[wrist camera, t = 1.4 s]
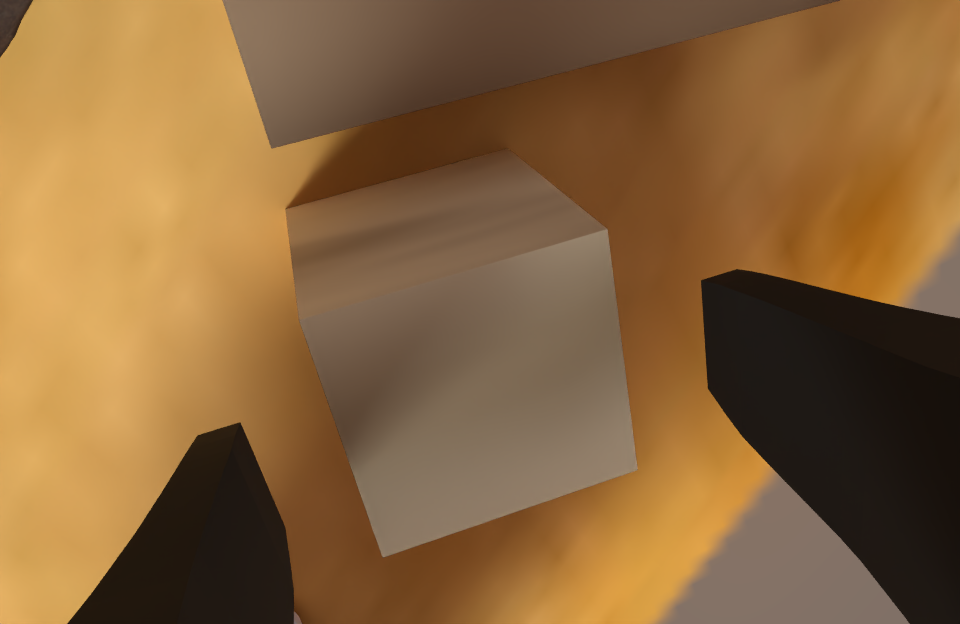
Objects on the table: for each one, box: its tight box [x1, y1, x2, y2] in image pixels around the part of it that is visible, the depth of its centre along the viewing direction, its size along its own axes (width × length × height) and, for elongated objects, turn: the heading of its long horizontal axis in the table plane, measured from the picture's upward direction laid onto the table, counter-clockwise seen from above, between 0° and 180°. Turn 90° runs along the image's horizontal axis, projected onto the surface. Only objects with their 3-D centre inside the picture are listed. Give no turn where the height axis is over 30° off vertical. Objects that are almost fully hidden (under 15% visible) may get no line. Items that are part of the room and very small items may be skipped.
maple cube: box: [285, 148, 638, 558], centre depth 14 cm, size 4×4×5 cm
